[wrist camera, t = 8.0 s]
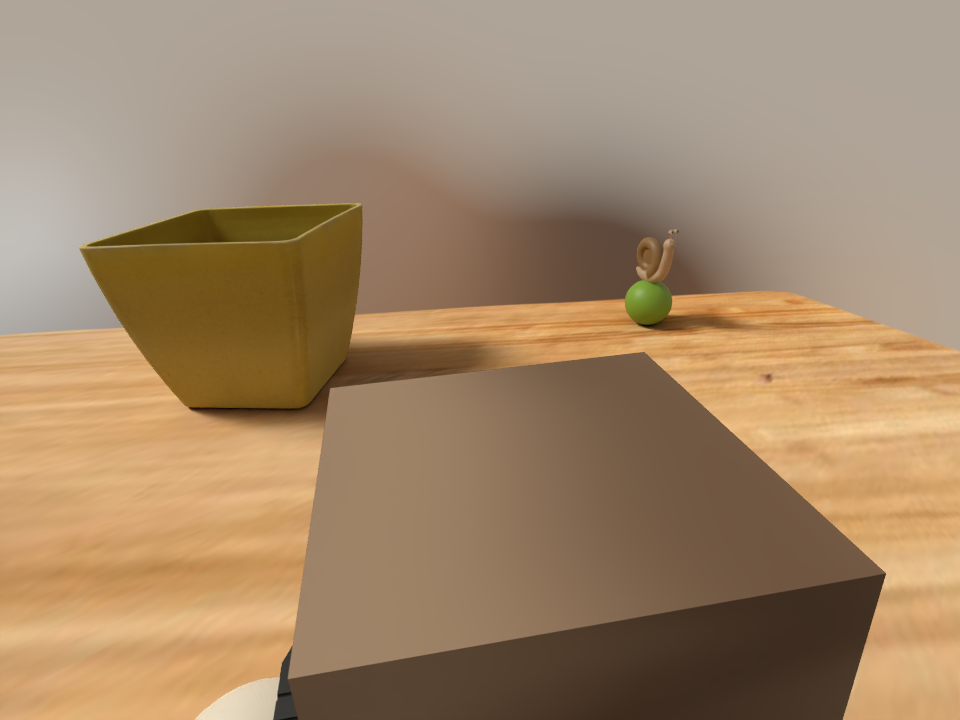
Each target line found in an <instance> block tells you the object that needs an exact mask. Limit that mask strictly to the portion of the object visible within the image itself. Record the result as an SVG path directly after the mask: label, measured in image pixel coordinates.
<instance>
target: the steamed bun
mask: <svg viewBox="0 0 960 720" xmlns="http://www.w3.org/2000/svg"><path fill="white" fill-rule="evenodd" d="M279 679H280V677H275V678H267V679H260V680H256V681H253V682H250V683H247V684H245V685H243V686H240V687H238V688H236V689H234V690H232V691H230V692H228V693H226V694H225V695H224V696H222V697H221V698H219V699H218V700H217V701H215V702H214V703H213V704H211V705H210V706H209V707H207V708H206V709H205V710H204V711H203V712H202V713H201V714H200V715H198V717H197V718H196V719H195V720H273V717H274V711H275V705H276V701H277V692H278V686H279Z"/></svg>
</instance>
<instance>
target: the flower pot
mask: <svg viewBox="0 0 960 720" xmlns="http://www.w3.org/2000/svg"><path fill="white" fill-rule="evenodd" d="M79 248H80V251H81V253H82V255H83V257H84V259H85V261H86V263H87V265H88V267H89V269H90V271H91V273H92V275H93V276H94V278H95V280H96V282H97V284H98V285H99V287H100V289H101V291H102V292H103V294H104V296H105V298H106V299H107V301H108V303H109V304H110V306H111V308H112V309H113V311H114V313H115V314H116V316H117V318H118V319H119V321H120V322H121V324H122V325H123V327H124V328H125V330H126V331H127V333H128V334H129V336H130V337H131V339H132V340H133V342H134V343H135V344H136V346H137V347H138V349H139V350H140V351H141V353H142V354H143V355H144V357H145V358H146V360H147V361H148V362H149V363H150V365H151V366H152V367H153V368H154V370H155V371H156V372H157V374H158V375H159V376H160V377H161V379H162V380H163V381H164V382H165V383H166V385H167V386H168V387H169V388H170V389H171V391H172V392H173V393H174V394H175V395H176V396H177V397H178V398H179V399H180V400H181V402H182V403H183V404H184V405H185V406H188V407H216V408H301V407H304V406H306V405H308V404H309V403H310V402H311V401H312V399H313V398H314V397H315V396H316V395H317V393H318V392H319V391H320V390H321V389H322V387H323V386H324V385H325V384H326V382H327V381H328V380H329V379H330V378H331V376H332V375H333V374H334V373H335V371H336V370H337V369H338V368H339V367H340V365H341V364H342V363H343V362H344V361H345V360H346V357H347V353H348V349H349V344H350V339H351V334H352V329H353V322H354V316H355V310H356V303H357V296H358V287H359V277H360V266H361V249H362V204H358V203H352V204H351V203H350V204H316V205H287V206H286V205H284V206H261V207H260V206H259V207H234V208H210V209H200V210H194V211H191V212H188V213H185V214H182V215H178V216H175V217H171V218H168V219H165V220H162V221H159V222H155V223H152V224H148V225H145V226H141V227H138V228H135V229H132V230H128V231H125V232H122V233H119V234H116V235H112V236H109V237H106V238H102V239H99V240H96V241H93V242H90V243H87V244H84V245H82V246H80V247H79Z"/></svg>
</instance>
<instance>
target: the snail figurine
mask: <svg viewBox="0 0 960 720" xmlns="http://www.w3.org/2000/svg"><path fill="white" fill-rule="evenodd" d="M668 233H669V235H672V234H673V233H674V234H675V235H676V234H677V233H678V229H675V230H674V231H673V230H670V231H669V232H668ZM675 237H676V236H675ZM675 241H676V238H675ZM675 241H674V240H673V239H671V237H670V239H667V240H666V241H665V242H664V250H663V248H662V246H661V244H660V243H659V242H658V241H657V240H656V239H654V238H650V237H648V238H645V239H643V240H642V241H641V242H640V243H639V246H638V249H637V260H638V263H639V265H640V267H637V268H636V269H637V273H638V275H639V277H640V278H641V279H643V280H642V281H639V282H637V283H636V284H634V285H633V286H632V287H631V288H630V289H629V291H628V292H627V295H626V298H625V308H626V311H627V313H628V315H629V316H630V317H631V318H632V319H633V320H634V321H636V322H638V323H640V324H644V325H652V324H656V323H658V322H660V321H662V320H663V319H664V318H665V317H666V316H667V315H668V314H669V312H670V310H671V306H672V297H671V293H670V291H669V290H668V288H667V287H666V286H665V285H664V284H663V283H661V282H660V281H662V280H663V279H664V278H665V277H666V276H667V274H668V272H669V269H670V267H671V263H672V259H673V252H674V250H675V248H676V242H675Z"/></svg>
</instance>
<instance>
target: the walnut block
mask: <svg viewBox="0 0 960 720" xmlns="http://www.w3.org/2000/svg"><path fill="white" fill-rule="evenodd" d="M885 575H886V573H885V572H884V571H883V570H882V569H881V568H880V567H878V566H877V565H876V564H875V563H874V562H873V561H872V560H871V559H870V558H869V557H868V556H866V555H865V554H864V553H863V552H862V551H861V550H860V549H859V548H858V547H857V546H856V545H854V544H853V543H852V542H851V541H850V540H849V539H848V538H847V537H846V536H845V535H843V534H842V533H841V532H840V531H839V530H838V529H837V528H836V527H835V526H834V525H833V524H831V523H830V522H829V521H828V520H827V519H826V518H825V517H824V516H823V515H822V514H821V513H819V512H818V511H817V510H816V509H815V508H814V507H813V506H812V505H811V504H810V503H809V502H807V501H806V500H805V499H804V498H803V497H802V496H801V495H800V494H799V493H798V492H796V491H795V490H794V489H793V488H792V487H791V486H790V485H789V484H788V483H787V482H786V481H784V480H783V479H782V478H781V477H780V476H779V475H778V474H777V473H776V472H775V471H774V470H772V469H771V468H770V467H769V466H768V465H767V464H766V463H765V462H764V461H763V460H762V459H760V458H759V457H758V456H757V455H756V454H755V453H754V452H753V451H752V450H751V449H750V448H748V447H747V446H746V445H745V444H744V443H743V442H742V441H741V440H740V439H739V438H737V437H736V436H735V435H734V434H733V433H732V432H731V431H730V430H729V429H728V428H727V427H725V426H724V425H723V424H722V423H721V422H720V421H719V420H718V419H717V418H716V417H715V416H713V415H712V414H711V413H710V412H709V411H708V410H707V409H706V408H705V407H704V406H703V405H701V404H700V403H699V402H698V401H697V400H696V399H695V398H694V397H693V396H692V395H690V394H689V393H688V392H687V391H686V390H685V389H684V388H683V387H682V386H681V385H680V384H678V383H677V382H676V381H675V380H674V379H673V378H672V377H671V376H670V375H669V374H668V373H666V372H665V371H664V370H663V369H662V368H661V367H660V366H659V365H658V364H657V363H656V362H654V361H653V360H652V359H651V358H650V357H649V356H648V355H647V354H646V353H645V352H641V353H632V354H623V355H615V356H606V357H597V358H589V359H580V360H571V361H562V362H554V363H545V364H536V365H528V366H519V367H510V368H501V369H493V370H484V371H475V372H467V373H458V374H449V375H440V376H432V377H423V378H414V379H405V380H397V381H388V382H379V383H371V384H362V385H353V386H344V387H336V388H330V393H329V400H328V406H327V413H326V420H325V427H324V434H323V441H322V448H321V454H320V461H319V468H318V475H317V482H316V489H315V496H314V502H313V509H312V516H311V523H310V530H309V537H308V544H307V550H306V557H305V564H304V571H303V578H302V585H301V591H300V598H299V605H298V612H297V619H296V626H295V633H294V639H293V646H292V653H291V660H290V667H289V674H288V682H289V686H290V690H291V694H292V698H293V701H294V705H295V709H296V713H297V717H298V720H843V716H844V713H845V710H846V706H847V703H848V700H849V696H850V693H851V690H852V686H853V683H854V679H855V676H856V673H857V669H858V666H859V663H860V659H861V656H862V653H863V649H864V646H865V643H866V639H867V636H868V632H869V629H870V626H871V622H872V619H873V616H874V612H875V609H876V606H877V602H878V599H879V596H880V592H881V589H882V585H883V582H884V579H885Z"/></svg>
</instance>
